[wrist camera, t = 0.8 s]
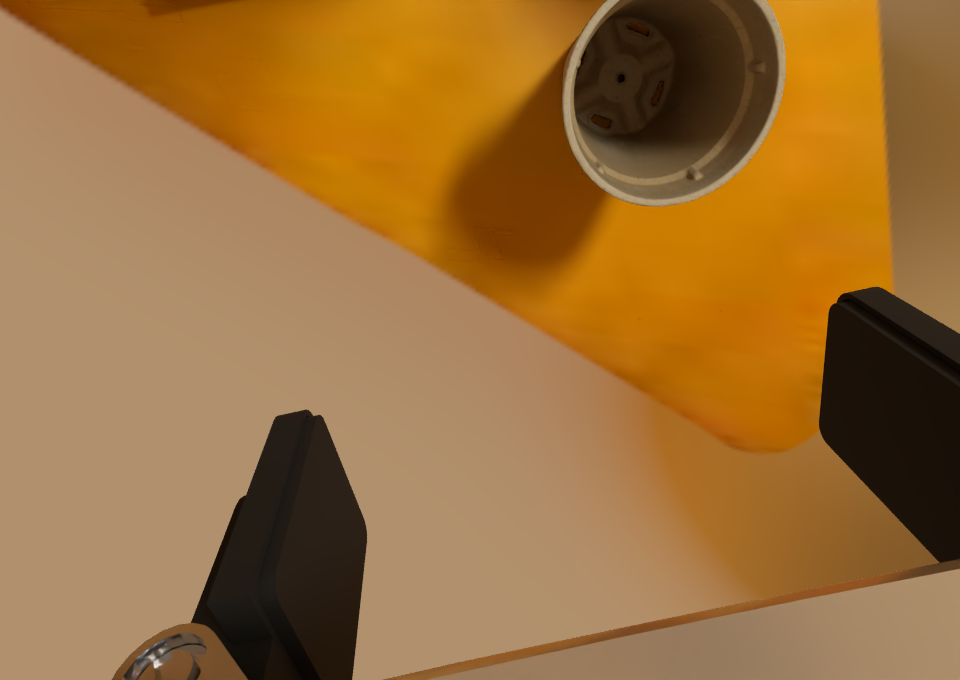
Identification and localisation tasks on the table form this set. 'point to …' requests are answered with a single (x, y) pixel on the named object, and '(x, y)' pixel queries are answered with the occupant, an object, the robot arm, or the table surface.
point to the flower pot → (672, 95)
